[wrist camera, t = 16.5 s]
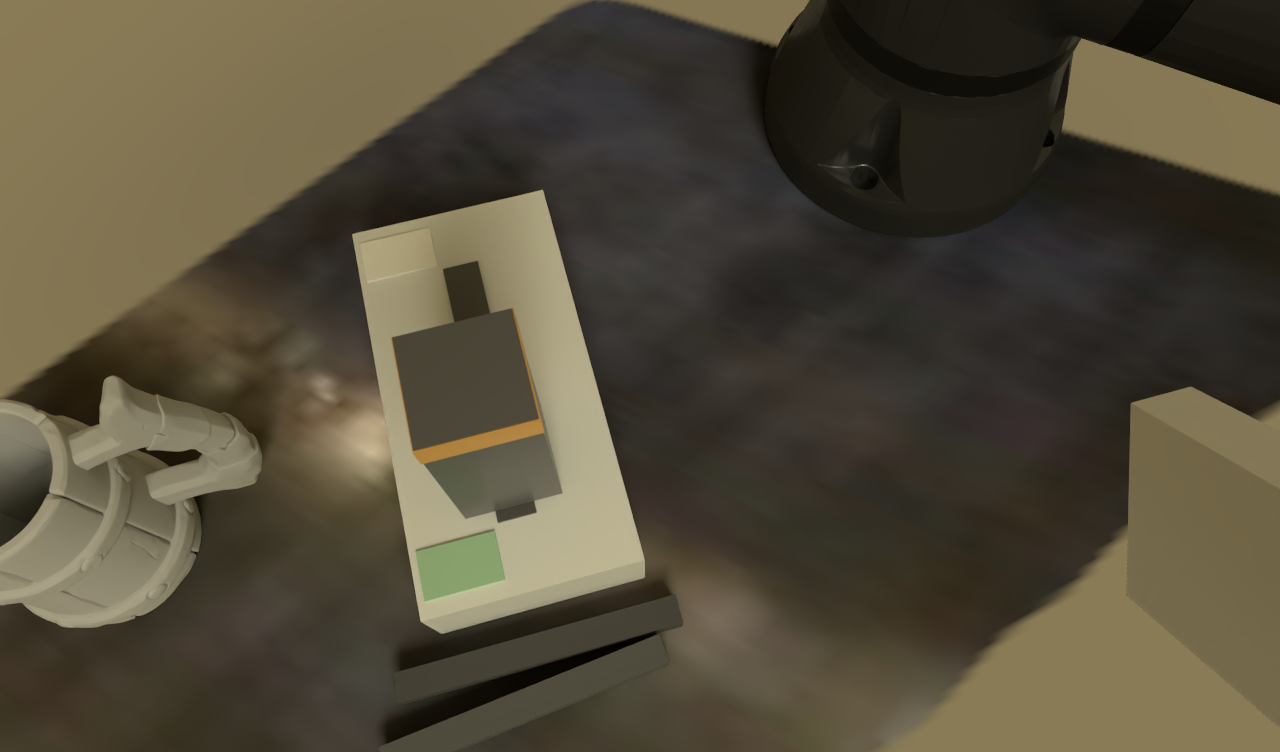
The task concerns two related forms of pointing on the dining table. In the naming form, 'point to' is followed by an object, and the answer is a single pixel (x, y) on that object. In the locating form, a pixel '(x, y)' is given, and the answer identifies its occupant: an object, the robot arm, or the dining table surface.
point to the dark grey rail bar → (537, 650)
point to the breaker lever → (476, 413)
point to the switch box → (577, 428)
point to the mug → (109, 502)
